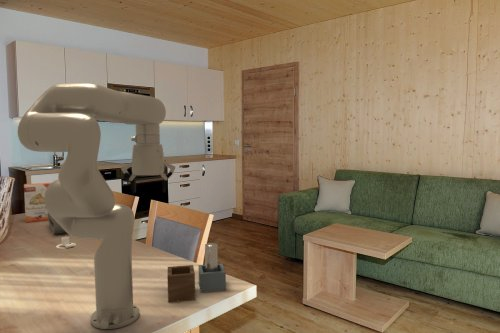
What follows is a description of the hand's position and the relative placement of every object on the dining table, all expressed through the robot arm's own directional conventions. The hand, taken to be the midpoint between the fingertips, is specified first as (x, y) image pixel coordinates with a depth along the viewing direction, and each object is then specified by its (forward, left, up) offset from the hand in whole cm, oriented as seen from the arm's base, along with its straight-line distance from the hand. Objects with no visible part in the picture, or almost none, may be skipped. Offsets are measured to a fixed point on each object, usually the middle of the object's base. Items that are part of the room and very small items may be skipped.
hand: (149, 192), depth 126 cm
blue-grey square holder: (-9, -20, -31) cm, 37 cm away
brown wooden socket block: (-14, -10, -31) cm, 35 cm away
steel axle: (-9, -19, -31) cm, 37 cm away
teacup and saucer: (+45, +40, -31) cm, 68 cm away
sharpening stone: (+76, +48, -31) cm, 95 cm away
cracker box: (+101, +65, -31) cm, 124 cm away
